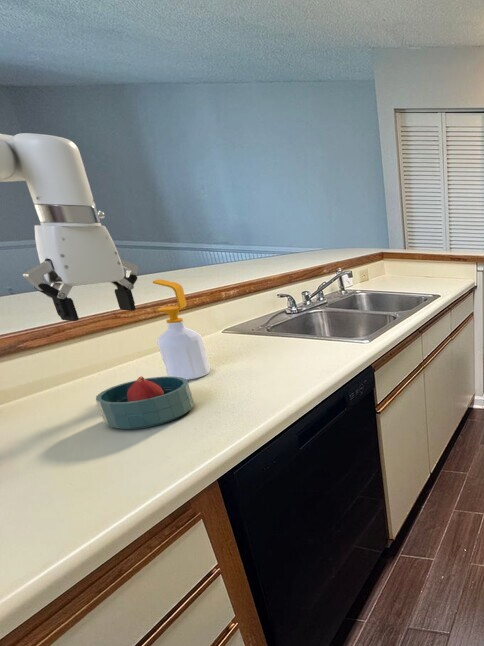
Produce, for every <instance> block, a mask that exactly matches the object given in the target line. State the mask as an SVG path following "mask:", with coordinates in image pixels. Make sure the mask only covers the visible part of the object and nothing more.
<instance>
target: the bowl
mask: <svg viewBox="0 0 484 646" xmlns="http://www.w3.org/2000/svg"><path fill="white" fill-rule="evenodd" d="M144 379H145V380H148V381H152V382H154V383H155V384H157V385H159V386H160V387H161V388H162V390H163V392H164V395H161V396H157V397H154V398H149V399H144V400H139V401H131V402H128V399H127V392H128V389H129V388H130V386H131V385H132V384H133V383H134V382H136V381H137V379H136V380H132V381H131V380H130V381H127V382H123V383H119V384H117V385H114V386H111V387H109V388H107V389H105V390H102V391H100V393H98V394H97V395H96V397H95V402H96V405H97V406H98V410H99V412H100V414H101V415H100V416H101V418H102V420H103V422H104V425H106V426H108V427H109V428H116V429H120V430H139V429H147V428H152V427H156V426H160V425H165V424H167V423H170V422H172V421H175V420H177V419H179V418H181V417H183V416H184V415H186V414H187V413H188V412H189V411H190V410H192V409H193V408H194V406H195V402H194V397H193V395H192V391H191V387H190V384H189V382H188V381H189V380H186V379H184V378H181V377H168V376H155V377H146V378H144Z"/></svg>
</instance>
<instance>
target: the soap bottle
mask: <svg viewBox="0 0 484 646" xmlns="http://www.w3.org/2000/svg"><path fill="white" fill-rule="evenodd" d="M152 284H153V285H159V286H163V287H167V288H170V289H171V290H172V291H173V292H174V294H175V298H176V302H177V305H176V306H175V305H173V306H171V305H170V306H162V307H160V308H158V309H157V311H158V312H164V313H165V315H168V319H166V321H165V322H166V325H167V330H166V331H164V332H162V333H161V334H160V335H159V337H158V338H157V342H156V343H157V346H158V349H159V352H160V355H161V358H162V363H163V365H164V368H165V372H166V375H167V377H181V378H184V379H186V380H187V381H191V380H195V379H199V378H202V377H205V376H206V375H208V374H210V373H211V367H210V362H209V358H208V355H207V351H206V348H205V343H204V339H203V336H202V335H201V334H200V333H199V331H196V330H194V329H191V328H188V327H186V326H185V323H184V320H183V318H182V317H179V316H178V314H180V310H182V309H184V308H186V307H187V305H188V302H187V299H186V295H185V291H184V288H183V286H182V285H181V284H180V283H177V282H174V281H169V280H165V279H162V278H161V279H160V278H158V279H154V280H152Z"/></svg>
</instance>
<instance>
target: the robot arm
mask: <svg viewBox="0 0 484 646" xmlns="http://www.w3.org/2000/svg"><path fill="white" fill-rule="evenodd" d="M80 152H81V151H80V150H79V148H78V146H77V145H76V144H75V143H74V142H73V141H72V140H71V139H68V138H65V137H61V136H57V135H50V134H42V133H32V132H21V133H17V134H15V135H10V134H5V133H0V183H7V182H10V183H11V182H25V183H26V186H27V188H28V192H29V194H30V198H31V200H32V203H33V206H34V210H35V212H36V215H37V217H38V221H39V224H34V240H35V247H36V252H37V256H38V260H39V264H37V265H36V266H34V267H32V268H30V269H29V270H27V271H25V272H24V273H22V277H23V279H25V280H26V282H28V283H29V284H30V285H31V286H33V287H34V289H35V290H36V291H38V292H40V293H42V294H44V295H46V297H47V298H51V299H52V303H53V305H54V308H55V310H56V313H57V315H58V316H59V317H60V319H61V320H62V321H67V322H77V321H79V320H80V319H79V314H78V312H77V309H76V306H75V303H74V300H73V299H72V298H71V297H68V296H69V293H70V292H71V290H72V288H73V287H76V286H77V287H78V286H87V285H96V284H97V285H98V284H105V283H110V284H111V285H112V286H114V287H116V288H115V289H114V294H115V298H116V301H117V305H118V307H119V309H120V310H121V311H130V312H135V311H136V310H137V307H136V305H135V304H136V302H135V298H134V295H133V291H132V290H133V289H135V286H134V285H135V283H136V282H137V281H138V275H139V274H138V273H139V270H140V265H138V264H136V263H134V262H130V261H129V260H125V259H123V258H121V257H120V254H119V251H118V249H117V247H116V244H115V242H114V240H113V238H112V236H111V234H110V232H109V230H108V228H107V227H106V226H105V225H102V221H101V219H105V217H106V214H105V213H104V211H102V210H98V208H97V206H96V202H95V200H94V196H93V193H92V190H91V186H90V182H89V179H88V176H87V173H86V168H85V165H84V162H83V158H82V155H81V153H80ZM124 269H125V270H124ZM125 271H126V272H125ZM43 277H44V279H45V281H46V282H47V283H46V282H45V281H44V279H43Z"/></svg>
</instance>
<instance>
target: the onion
mask: <svg viewBox="0 0 484 646" xmlns="http://www.w3.org/2000/svg"><path fill="white" fill-rule="evenodd" d="M145 379H146V378H145V377H144V376H143V375H142V376H138V378H137V379H136V380H137V381H136V382H134V383H133V384H132V385H131V386H130V388H129V389H128V392H127V399H128V402H131V401H139V400H144V399H149V398H154V397H157V396H161V395H164V392H163V390H162V388H161V387H160V386H159V385H157V384H155V383H154V382H152V381H148V380H145Z"/></svg>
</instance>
